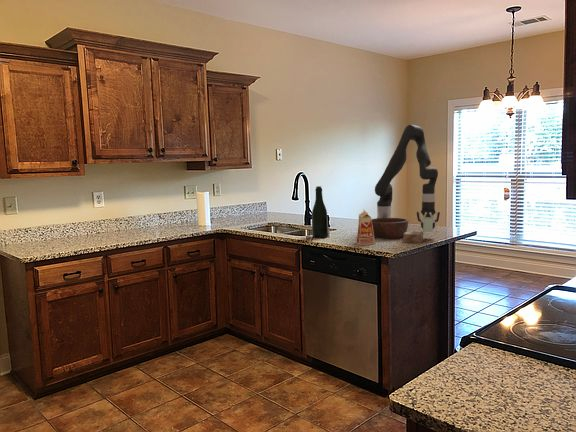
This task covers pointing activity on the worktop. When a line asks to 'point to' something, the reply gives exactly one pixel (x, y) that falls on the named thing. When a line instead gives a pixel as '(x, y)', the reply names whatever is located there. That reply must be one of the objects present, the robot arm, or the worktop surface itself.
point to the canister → (427, 224)
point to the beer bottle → (319, 216)
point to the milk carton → (365, 230)
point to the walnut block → (413, 237)
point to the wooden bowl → (389, 227)
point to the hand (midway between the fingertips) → (427, 228)
